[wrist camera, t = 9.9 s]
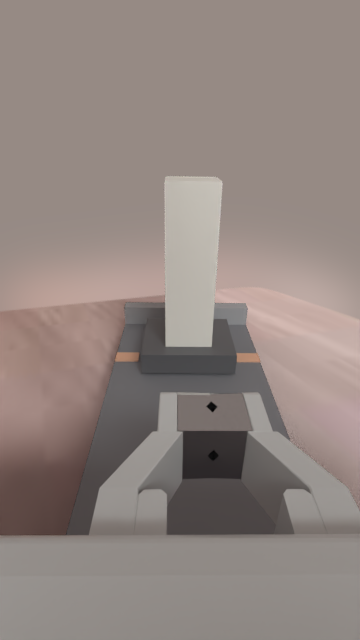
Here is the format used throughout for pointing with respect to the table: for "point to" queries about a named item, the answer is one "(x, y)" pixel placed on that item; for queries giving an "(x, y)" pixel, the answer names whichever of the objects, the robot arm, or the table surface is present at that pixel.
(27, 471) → the table surface
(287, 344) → the table surface
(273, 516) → the robot arm
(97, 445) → the track board
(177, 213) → the fader
